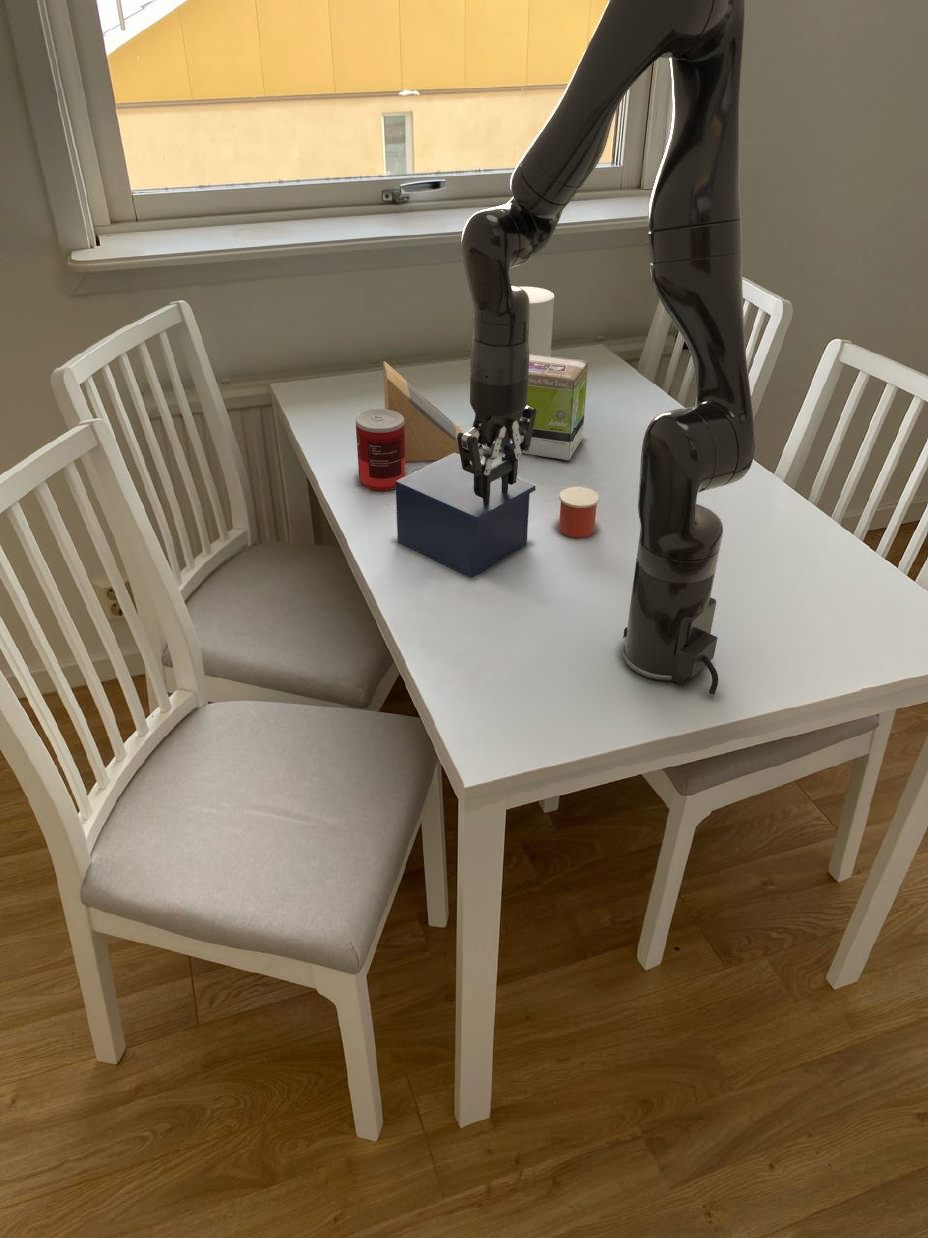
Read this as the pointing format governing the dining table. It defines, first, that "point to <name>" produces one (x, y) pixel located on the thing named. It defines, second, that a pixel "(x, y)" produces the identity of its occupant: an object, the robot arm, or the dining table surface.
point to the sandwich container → (419, 420)
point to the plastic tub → (578, 511)
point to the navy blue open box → (460, 533)
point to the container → (540, 320)
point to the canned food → (380, 448)
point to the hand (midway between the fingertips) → (495, 488)
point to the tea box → (556, 405)
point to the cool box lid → (464, 487)
